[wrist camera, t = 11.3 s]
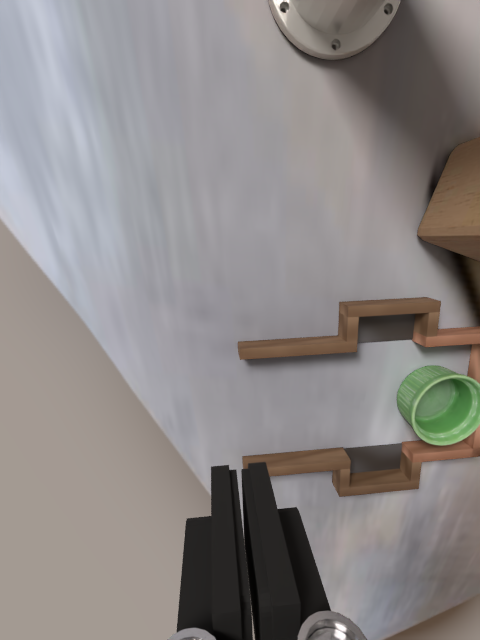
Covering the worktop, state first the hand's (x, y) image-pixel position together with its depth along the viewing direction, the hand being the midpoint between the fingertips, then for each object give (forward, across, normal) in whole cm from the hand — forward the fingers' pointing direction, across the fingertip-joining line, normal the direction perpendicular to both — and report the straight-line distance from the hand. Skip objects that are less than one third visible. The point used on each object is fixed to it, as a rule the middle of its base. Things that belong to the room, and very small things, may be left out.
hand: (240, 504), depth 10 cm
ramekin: (+28, -26, +12) cm, 40 cm away
